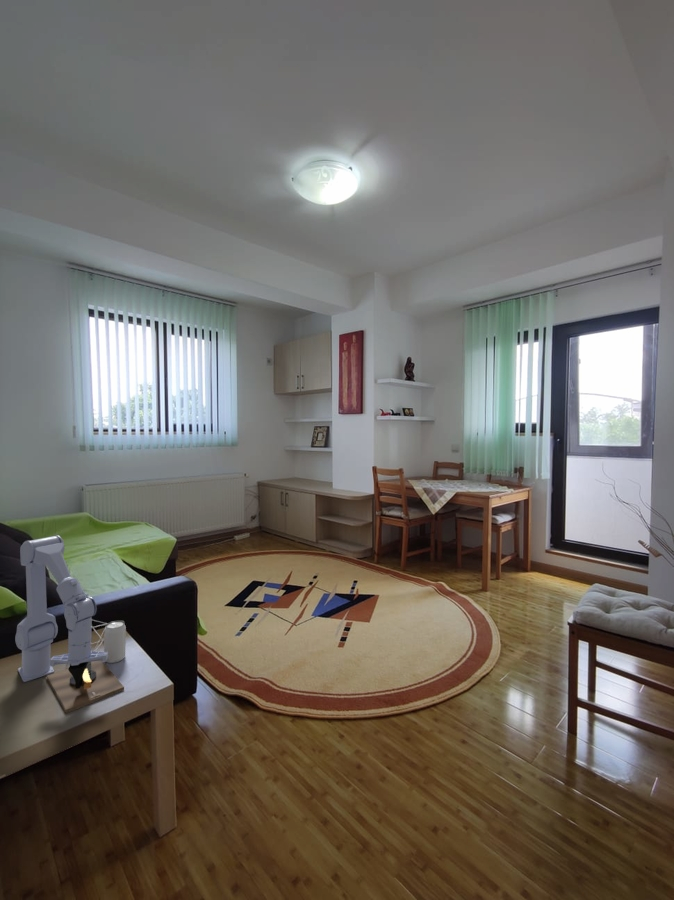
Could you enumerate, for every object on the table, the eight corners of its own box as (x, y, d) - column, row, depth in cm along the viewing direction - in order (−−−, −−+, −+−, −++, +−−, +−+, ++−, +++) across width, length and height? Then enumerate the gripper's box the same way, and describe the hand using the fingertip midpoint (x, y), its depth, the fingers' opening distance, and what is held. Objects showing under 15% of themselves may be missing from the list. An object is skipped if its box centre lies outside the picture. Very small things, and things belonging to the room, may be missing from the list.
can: (120, 651, 145) (121, 618, 144) (128, 658, 141) (129, 624, 140) (100, 658, 140) (101, 624, 139) (108, 666, 136) (109, 630, 135)
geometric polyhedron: (92, 638, 154) (92, 614, 153) (114, 643, 150) (114, 619, 150) (60, 654, 142) (60, 629, 141) (83, 661, 138) (83, 635, 138)
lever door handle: (68, 676, 127) (68, 664, 127) (94, 669, 131) (94, 657, 131) (73, 699, 116) (73, 686, 116) (101, 691, 121) (101, 677, 121)
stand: (46, 678, 128) (46, 674, 128) (99, 660, 139) (99, 657, 139) (66, 713, 113) (66, 709, 113) (123, 689, 124) (124, 686, 124)
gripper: (45, 650, 114) (44, 697, 114) (102, 645, 117) (102, 692, 118) (56, 637, 121) (55, 682, 121) (110, 634, 124) (109, 677, 125)
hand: (79, 686), depth 120 cm, fingers closed, pressing on lever door handle
